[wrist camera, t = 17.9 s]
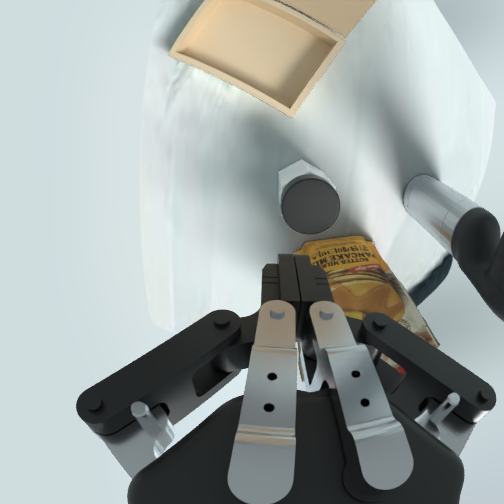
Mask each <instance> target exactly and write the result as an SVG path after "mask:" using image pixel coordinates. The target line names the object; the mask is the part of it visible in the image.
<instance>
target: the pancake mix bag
mask: <svg viewBox="0 0 504 504" xmlns="http://www.w3.org/2000/svg"><path fill="white" fill-rule="evenodd" d="M293 253H294V254H299V255H309V257H310V261H311V264H312V265H319V266H320V267H321V268H322V269H323V270H324V271H325V272H326V275H327V279H328V282H329V285H330V289H331V292H332V295H333V299H334V302H335V304H337V305H338V306H340V307H341V309H342V310H343V312H344V315H346V316H348V317H351V318H356V319H360V320H363V319H364V317H365V316H366V315H367V314H369V313H372V312H378V313H383V314H385V315H387V316H389V317H390V318H392V319H393V320H395V321H396V322H398V323H399V324H401V325H402V326H404V327H405V328H407V329H408V330H410V331H411V332H413V333H414V334H416V335H417V336H419V337H420V338H422V339H423V340H425V341H426V342H428V343H429V344H431V345H432V346H434V347H435V348H438V347H439V345H440V344H439V343H438V341H437V340H436V338H435V337H434V335H433V333H432V332H431V330H430V328H429V326H428V325H427V323H426V321H425V320H424V318H423V317H422V316H421V314H420V312H419V310H418V309H417V307H416V305H415V303H414V302H413V300H412V299H411V297H410V296H409V294H408V293H407V291H406V289H405V288H404V286H403V285H402V284H401V282H400V281H399V280H398V279H397V278H396V276H395V275H394V273H393V272H392V271H391V270H390V268H389V267H388V265H387V264H386V263H385V262H384V260H383V259H382V258H381V256H380V255H379V253H378V251H377V249H376V247H375V244H374V241H366V240H365V238H364V237H363V236H359V235H353V236H345V237H338V238H331V239H323V240H314V241H309V242H305V243H304V244H303V246H302V248H301V250H298V251H295V252H293ZM301 349H302V343H301V342H298V351H299V363H298V364H299V370H300V375H301V379H302V382H305V379H304V374H303V368H302V363H301V358H300V354H301ZM381 359H382V360H384V361H385V362H387V363H388V364H389V365H391V366H392V367H393V368H395V367H398V366H399V365H398V364H397V363H395V362H394V361H392V360H391V359H390V358H388V357H387V356H385V355H384V354H383V355H382V357H381Z"/></svg>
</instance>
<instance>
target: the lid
mask: <svg viewBox="0 0 504 504" xmlns="http://www.w3.org/2000/svg"><path fill="white" fill-rule="evenodd" d="M279 1H281V2H284V3H286V4H288V5H290V6H292V7H294V8H296V9H298V10H299V11H301V12H303V13H305V14H307V15H309V16H310V17H312V18H314V19H316V20H317V21H319V22H321V23H323V24H324V25H326V26H327V27H329V28H331V29H332V30H334V31H335V32H337V33H339V34H340V35H342V36H343V37H346V36H347V35H348V34H349V32H350V31H351V30H352V29H353V28H354V26H355V25H356V24H357V23H358V22H359V20H360V19H361V18H362V17H363V16H364V14H365V13H366V12H367V11H368V10H369V8H370V7H371V6H372V5H373V4H374V3H375V2H376V0H279Z"/></svg>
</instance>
